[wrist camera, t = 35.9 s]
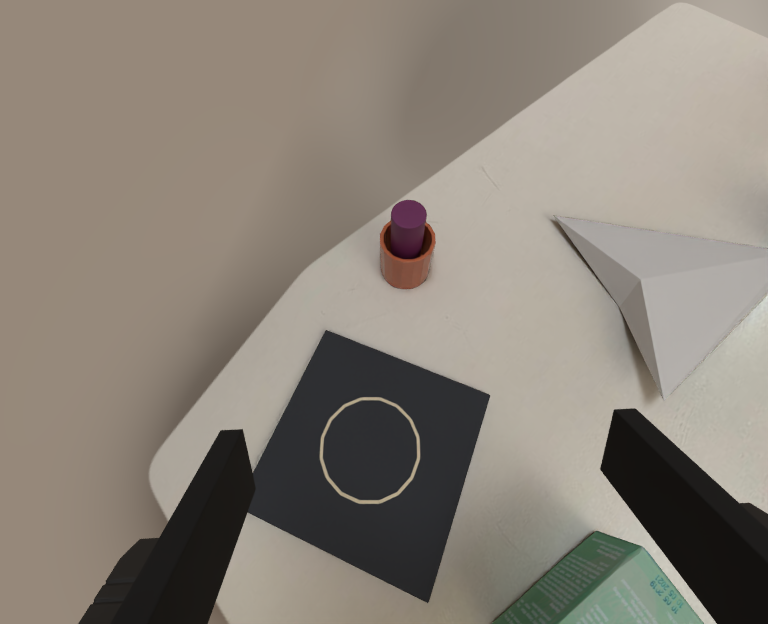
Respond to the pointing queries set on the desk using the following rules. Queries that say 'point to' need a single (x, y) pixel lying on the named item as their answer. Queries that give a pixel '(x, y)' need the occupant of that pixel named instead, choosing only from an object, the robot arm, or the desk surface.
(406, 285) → the pen pot
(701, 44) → the desk surface
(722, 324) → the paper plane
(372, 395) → the felt pad
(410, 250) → the cylinder
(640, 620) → the box
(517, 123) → the desk surface
